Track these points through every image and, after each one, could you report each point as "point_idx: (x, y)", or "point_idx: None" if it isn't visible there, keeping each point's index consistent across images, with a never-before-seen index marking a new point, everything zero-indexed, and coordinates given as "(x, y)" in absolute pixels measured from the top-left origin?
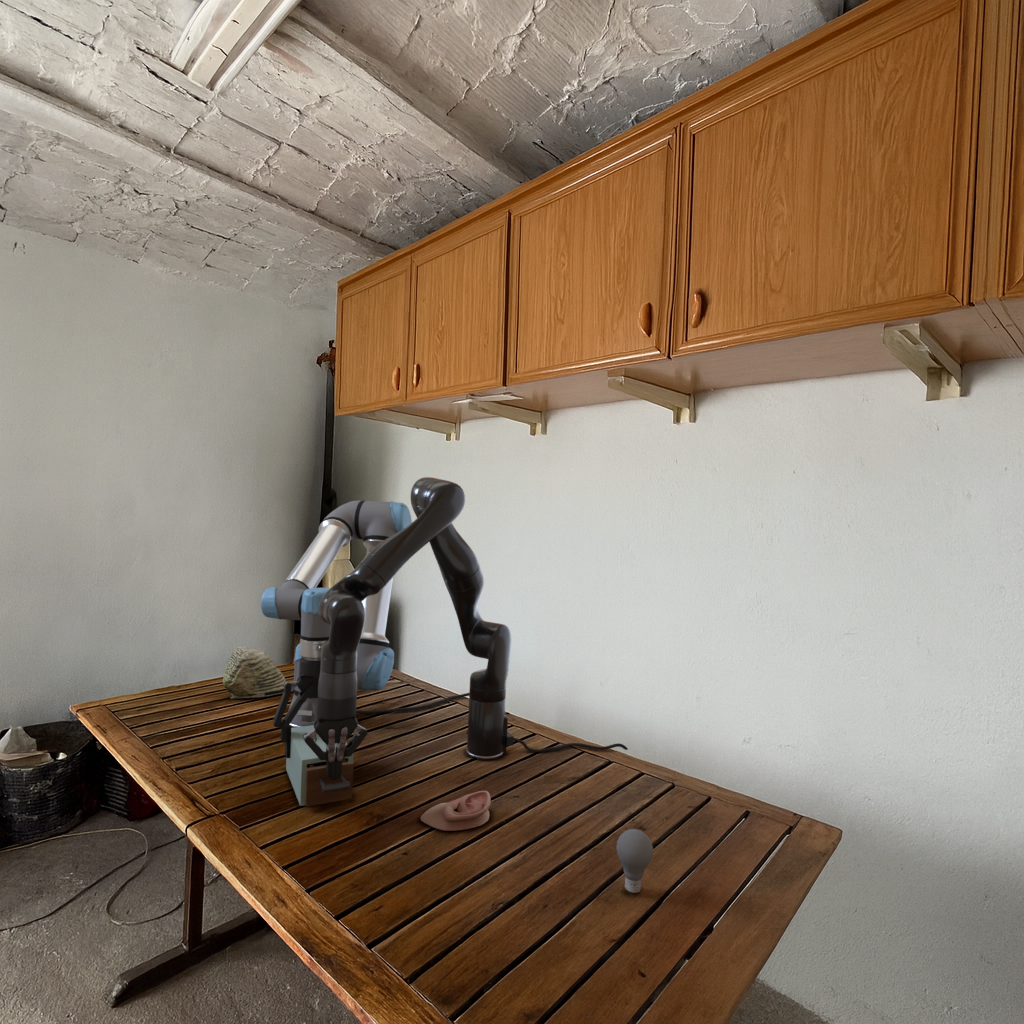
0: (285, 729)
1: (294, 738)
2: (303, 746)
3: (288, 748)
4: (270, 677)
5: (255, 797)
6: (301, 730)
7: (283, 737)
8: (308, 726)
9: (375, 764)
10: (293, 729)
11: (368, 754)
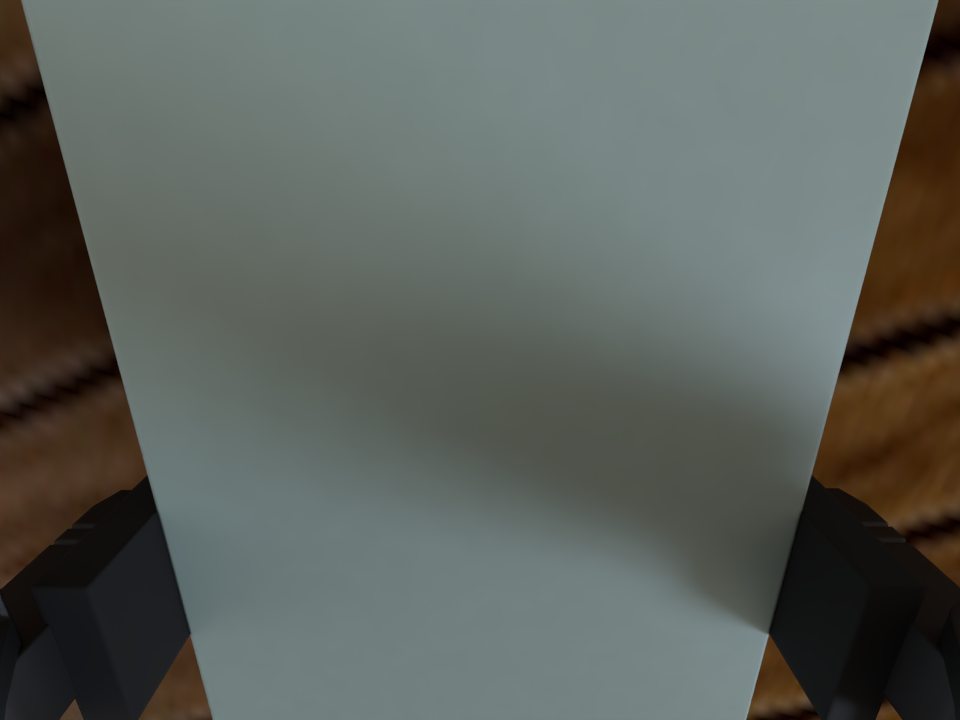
0: (931, 613)
1: (797, 418)
2: (810, 3)
3: None
4: None
5: (931, 114)
6: (623, 631)
7: (873, 529)
8: (513, 709)
9: (49, 334)
10: (699, 681)
11: (98, 494)
